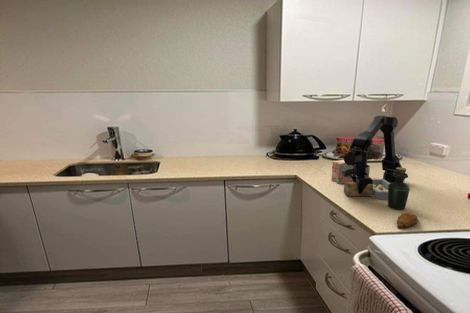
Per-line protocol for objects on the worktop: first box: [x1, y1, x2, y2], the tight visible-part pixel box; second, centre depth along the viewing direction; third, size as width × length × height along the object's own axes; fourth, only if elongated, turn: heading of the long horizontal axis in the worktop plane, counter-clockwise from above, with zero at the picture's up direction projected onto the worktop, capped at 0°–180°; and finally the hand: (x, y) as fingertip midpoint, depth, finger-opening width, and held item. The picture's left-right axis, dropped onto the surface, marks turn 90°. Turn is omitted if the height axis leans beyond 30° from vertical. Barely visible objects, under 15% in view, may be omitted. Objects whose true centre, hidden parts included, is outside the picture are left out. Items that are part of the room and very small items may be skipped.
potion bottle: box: [387, 167, 410, 211], centre depth 113 cm, size 8×8×18 cm
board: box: [343, 182, 373, 197], centre depth 129 cm, size 12×5×6 cm, turn 88°
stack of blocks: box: [331, 159, 371, 184], centre depth 152 cm, size 21×6×12 cm, turn 106°
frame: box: [371, 178, 390, 200], centre depth 134 cm, size 12×21×4 cm, turn 173°
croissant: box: [396, 212, 419, 230], centre depth 100 cm, size 14×7×5 cm, turn 125°
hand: (357, 191), depth 130 cm, fingers closed on board, 5 cm apart
